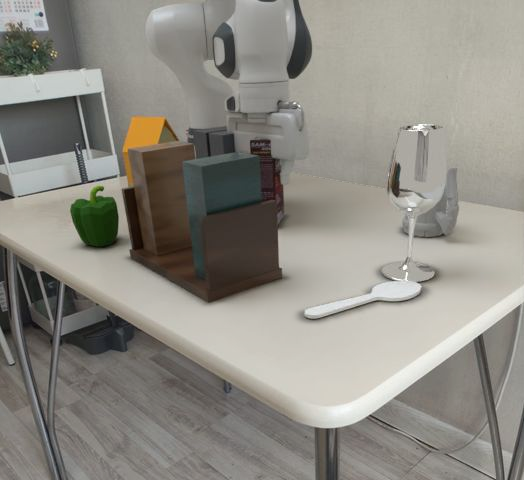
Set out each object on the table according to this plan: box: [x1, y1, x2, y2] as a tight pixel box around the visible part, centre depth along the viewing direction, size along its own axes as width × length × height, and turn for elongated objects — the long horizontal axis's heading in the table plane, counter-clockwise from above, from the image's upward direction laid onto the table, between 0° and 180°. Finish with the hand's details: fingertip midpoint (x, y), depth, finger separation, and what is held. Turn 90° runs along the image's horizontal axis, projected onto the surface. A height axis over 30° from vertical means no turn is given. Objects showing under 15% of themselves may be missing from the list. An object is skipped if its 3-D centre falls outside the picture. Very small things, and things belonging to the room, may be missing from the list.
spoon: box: [303, 280, 422, 320], centre depth 70 cm, size 5×18×1 cm, turn 116°
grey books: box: [193, 126, 236, 159], centre depth 110 cm, size 11×9×16 cm
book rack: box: [121, 140, 283, 303], centre depth 80 cm, size 25×13×18 cm, turn 37°
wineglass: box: [381, 123, 448, 283], centre depth 73 cm, size 8×8×20 cm
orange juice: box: [122, 116, 180, 187], centre depth 102 cm, size 8×9×20 cm
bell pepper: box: [69, 185, 120, 247], centre depth 96 cm, size 8×8×10 cm
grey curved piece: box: [401, 166, 460, 238], centre depth 90 cm, size 8×12×12 cm, turn 20°
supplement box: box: [250, 137, 285, 225], centre depth 101 cm, size 9×5×16 cm, turn 168°
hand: (268, 181), depth 101 cm, fingers open, 8 cm apart
